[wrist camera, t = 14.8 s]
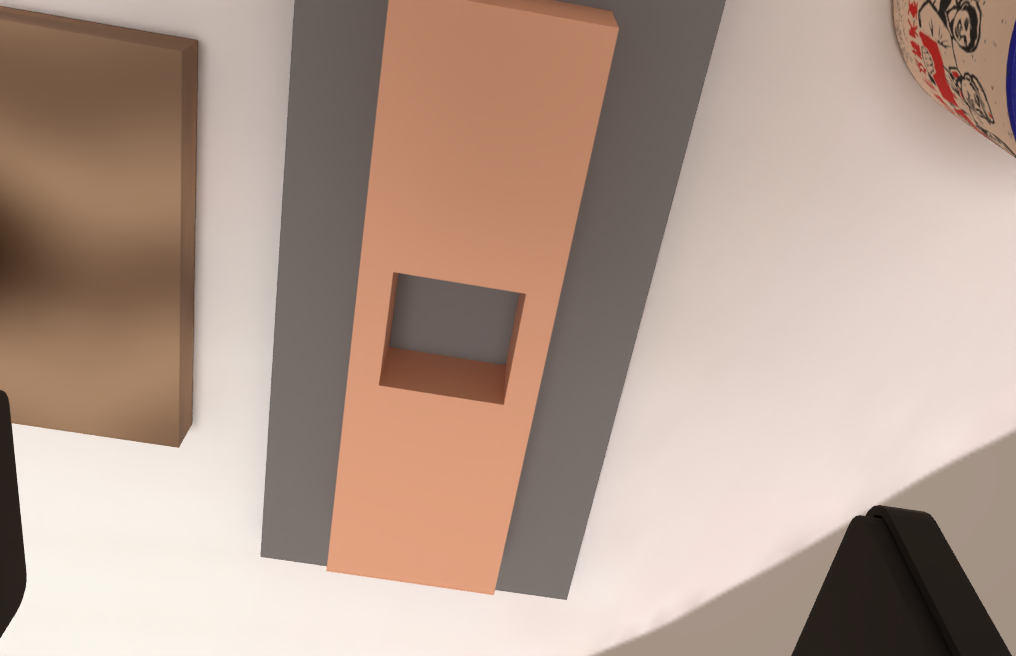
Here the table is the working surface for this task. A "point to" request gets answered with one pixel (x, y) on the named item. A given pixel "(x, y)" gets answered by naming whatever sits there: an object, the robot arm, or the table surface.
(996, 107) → the teacup with lid
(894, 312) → the table surface
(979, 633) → the robot arm
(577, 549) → the mat
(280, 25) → the table surface
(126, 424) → the stand
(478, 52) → the link
